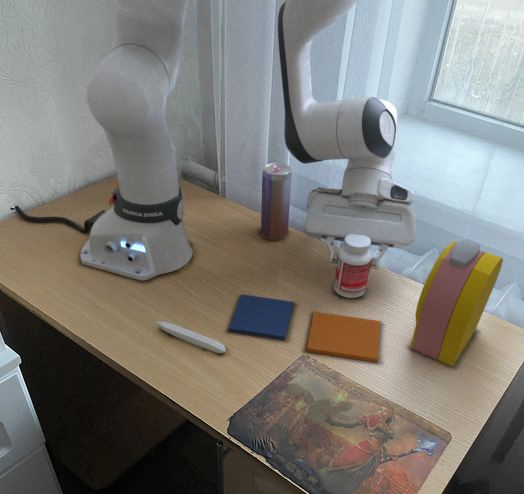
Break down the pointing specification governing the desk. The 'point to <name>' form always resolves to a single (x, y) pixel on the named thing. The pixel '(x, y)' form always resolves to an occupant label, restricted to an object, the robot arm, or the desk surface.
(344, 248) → the pill bottle
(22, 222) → the desk surface
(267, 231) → the beverage can
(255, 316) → the blue mat
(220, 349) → the pen
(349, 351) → the amber mat
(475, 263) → the alarm clock
